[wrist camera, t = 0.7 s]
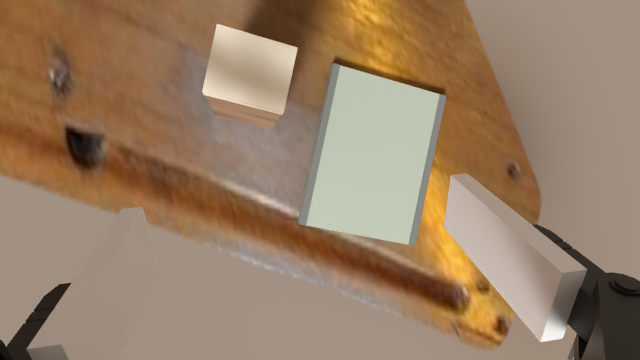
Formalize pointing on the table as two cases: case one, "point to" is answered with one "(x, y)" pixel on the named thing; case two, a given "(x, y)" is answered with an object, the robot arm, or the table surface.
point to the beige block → (248, 77)
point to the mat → (371, 157)
